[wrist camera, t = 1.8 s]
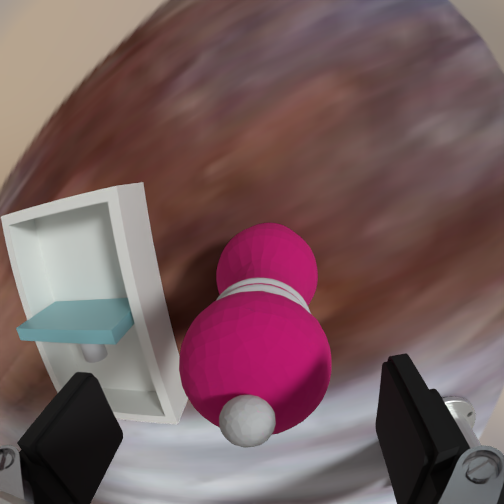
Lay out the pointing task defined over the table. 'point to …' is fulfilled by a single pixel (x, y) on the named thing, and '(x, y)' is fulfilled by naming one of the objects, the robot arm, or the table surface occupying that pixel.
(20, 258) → the white tray
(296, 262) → the pepper mill
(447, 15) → the table surface
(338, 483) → the table surface
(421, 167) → the table surface
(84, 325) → the pusher
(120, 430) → the robot arm
